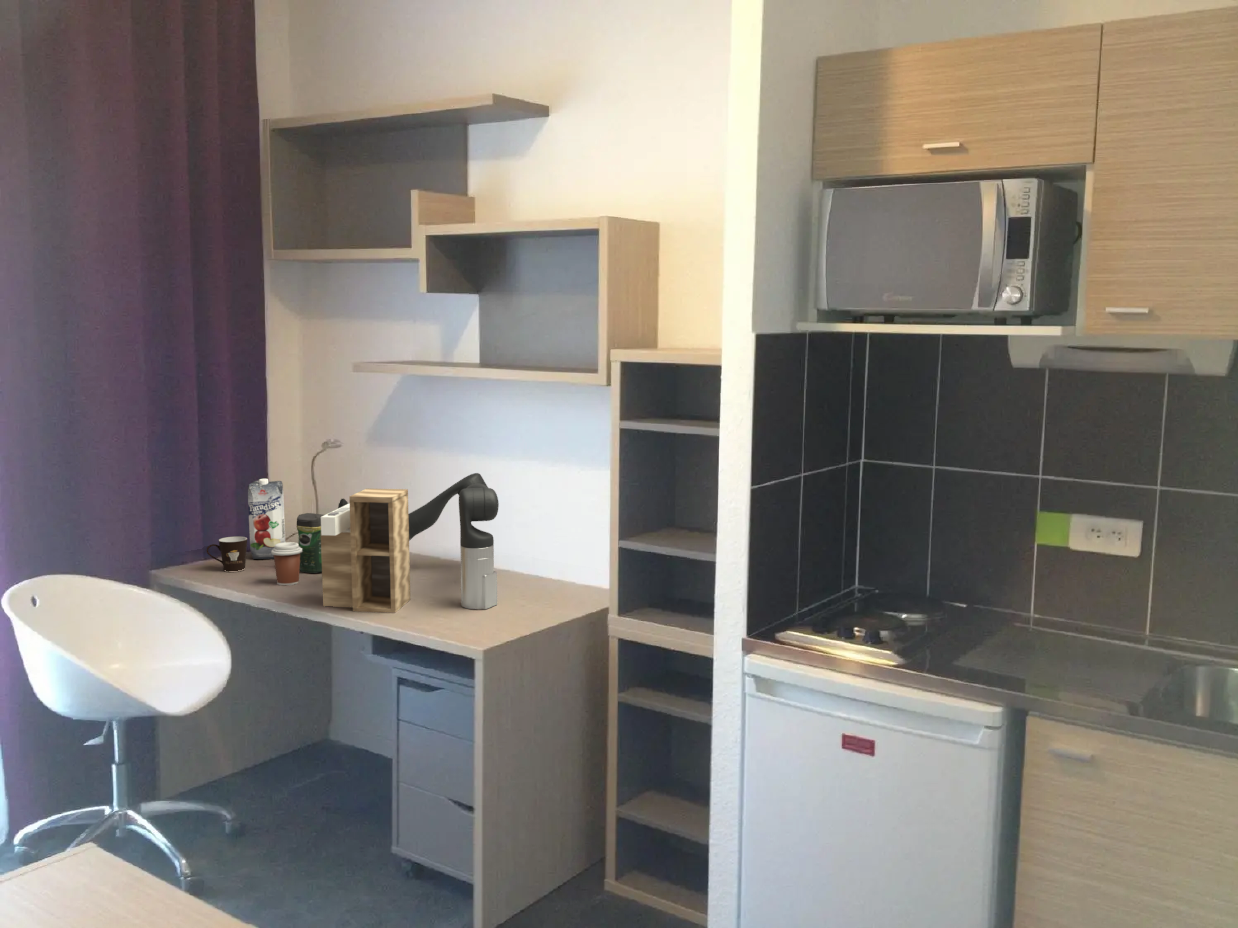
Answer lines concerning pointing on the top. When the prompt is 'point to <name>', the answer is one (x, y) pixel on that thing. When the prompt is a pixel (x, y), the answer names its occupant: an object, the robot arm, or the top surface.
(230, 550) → the coffee mug
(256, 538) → the juice carton
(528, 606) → the top surface
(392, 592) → the step shelf
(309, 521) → the coffee jar
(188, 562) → the top surface
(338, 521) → the white long block
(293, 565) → the coffee cup
